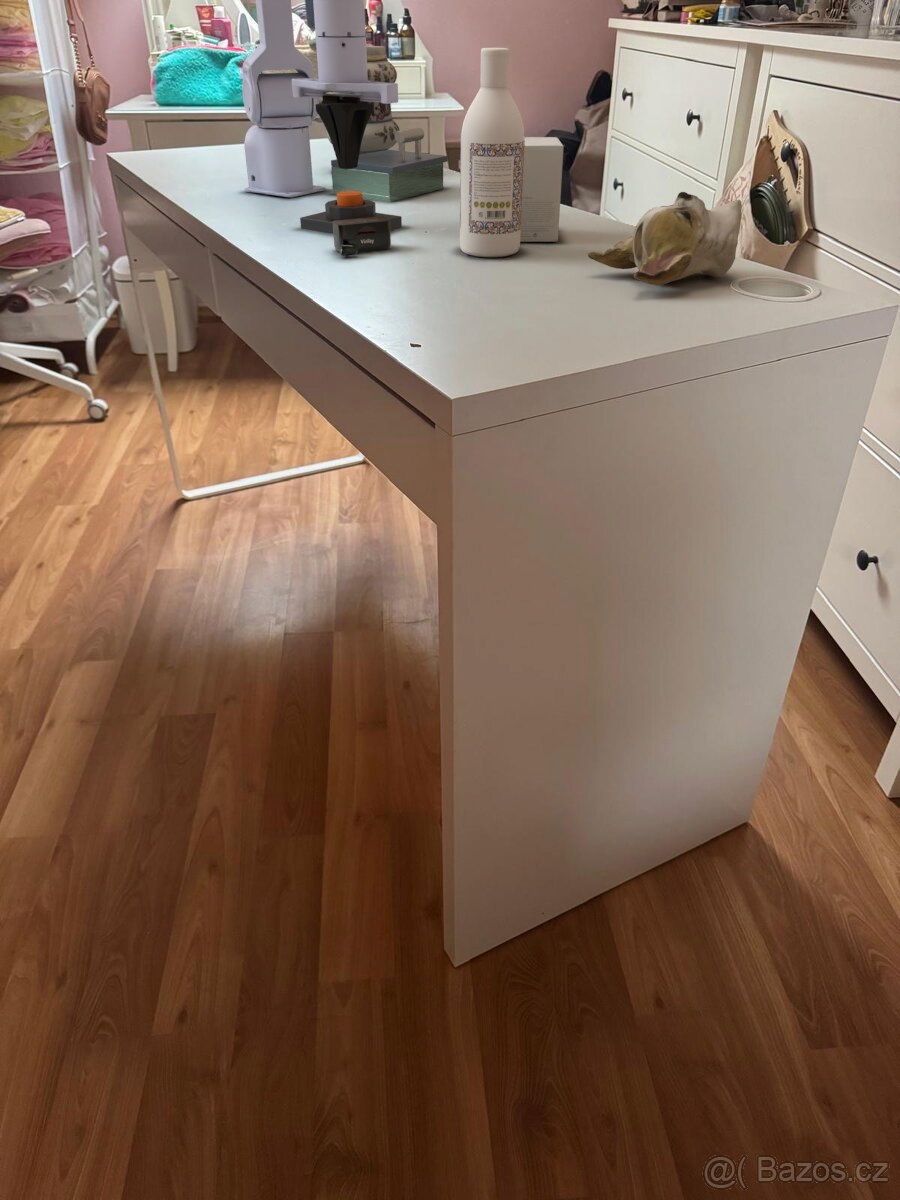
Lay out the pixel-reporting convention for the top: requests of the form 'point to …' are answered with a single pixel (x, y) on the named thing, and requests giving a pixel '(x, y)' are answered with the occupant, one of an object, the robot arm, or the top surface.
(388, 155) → the lid
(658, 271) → the ceramic sculpture
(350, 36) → the robot arm
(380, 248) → the dark grey gadget
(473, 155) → the bath foam
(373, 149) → the apothecary jar
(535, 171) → the small box
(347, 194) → the button
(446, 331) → the top surface
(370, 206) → the control block
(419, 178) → the green hinged box
